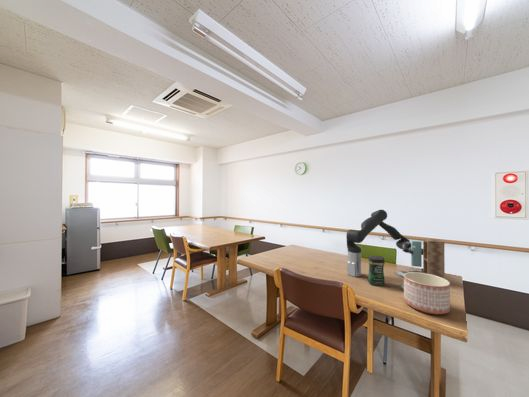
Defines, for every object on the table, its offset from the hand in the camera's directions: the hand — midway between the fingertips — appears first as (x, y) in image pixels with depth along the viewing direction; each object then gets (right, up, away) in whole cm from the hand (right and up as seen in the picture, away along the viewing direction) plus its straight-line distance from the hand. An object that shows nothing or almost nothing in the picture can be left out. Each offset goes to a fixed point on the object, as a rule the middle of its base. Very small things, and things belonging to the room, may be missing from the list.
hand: (417, 253), depth 150 cm
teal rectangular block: (+1, -10, +2) cm, 10 cm away
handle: (-15, -18, -22) cm, 32 cm away
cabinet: (+2, -17, -1) cm, 18 cm away
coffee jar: (-35, -18, -10) cm, 40 cm away
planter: (-24, -18, -39) cm, 50 cm away
